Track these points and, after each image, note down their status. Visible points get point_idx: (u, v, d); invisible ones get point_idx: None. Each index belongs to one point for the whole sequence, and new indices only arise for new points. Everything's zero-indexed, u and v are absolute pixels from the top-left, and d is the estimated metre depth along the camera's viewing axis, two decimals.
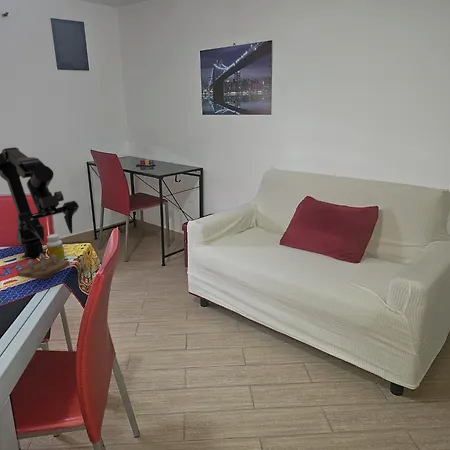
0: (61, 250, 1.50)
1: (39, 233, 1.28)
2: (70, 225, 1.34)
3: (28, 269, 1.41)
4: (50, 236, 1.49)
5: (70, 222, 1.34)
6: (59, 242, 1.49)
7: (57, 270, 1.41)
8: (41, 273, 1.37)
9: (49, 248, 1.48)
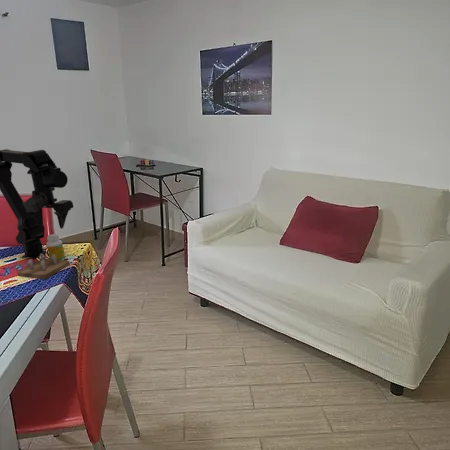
0: (61, 250, 1.50)
1: (37, 221, 1.48)
2: (59, 223, 1.45)
3: (28, 269, 1.41)
4: (50, 236, 1.49)
5: (59, 220, 1.44)
6: (59, 242, 1.49)
7: (57, 270, 1.41)
8: (41, 273, 1.37)
9: (49, 248, 1.48)
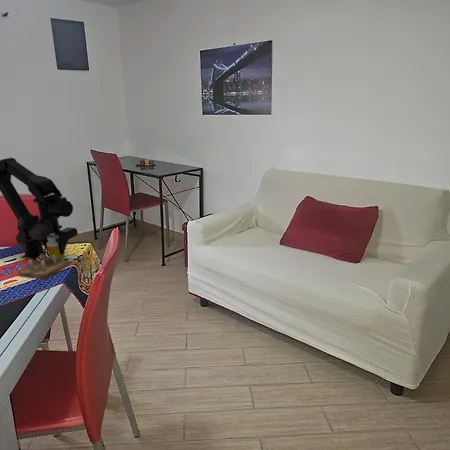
0: None
1: (46, 247, 1.51)
2: (60, 249, 1.49)
3: (28, 269, 1.41)
4: (50, 236, 1.49)
5: (60, 247, 1.48)
6: None
7: (57, 270, 1.41)
8: (41, 273, 1.37)
9: (49, 248, 1.48)
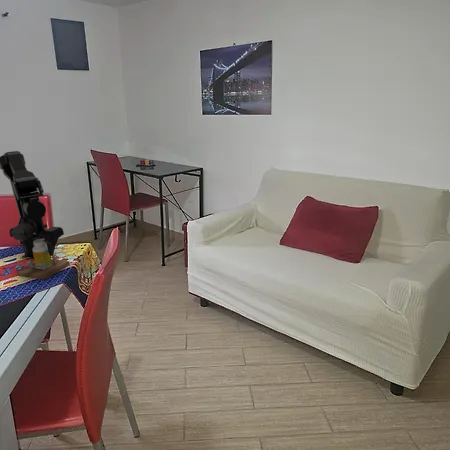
0: (48, 256, 1.41)
1: (26, 248, 1.42)
2: (49, 250, 1.39)
3: (28, 269, 1.41)
4: (36, 241, 1.39)
5: (48, 248, 1.38)
6: (46, 248, 1.40)
7: (57, 270, 1.41)
8: (41, 273, 1.37)
9: (35, 254, 1.39)
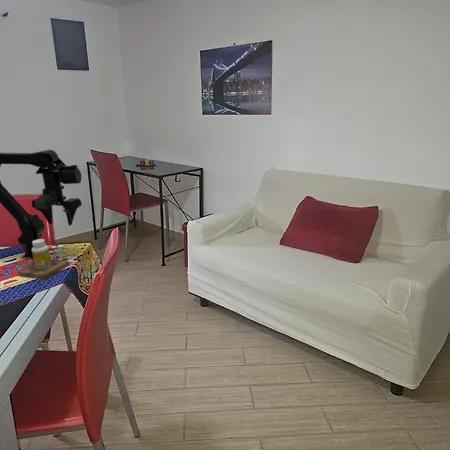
0: (47, 256, 1.41)
1: (46, 218, 1.54)
2: (68, 220, 1.51)
3: (28, 269, 1.41)
4: (35, 241, 1.40)
5: (68, 217, 1.50)
6: (45, 248, 1.40)
7: (57, 270, 1.41)
8: (41, 273, 1.37)
9: (34, 254, 1.39)
